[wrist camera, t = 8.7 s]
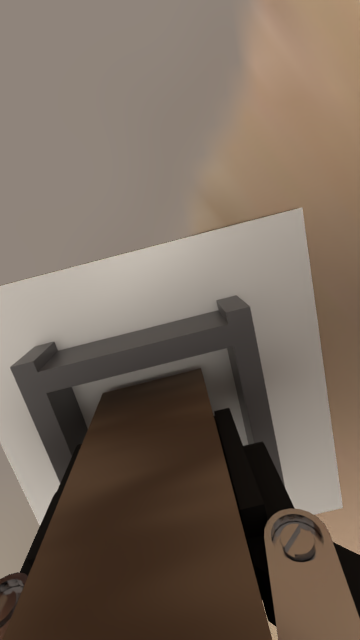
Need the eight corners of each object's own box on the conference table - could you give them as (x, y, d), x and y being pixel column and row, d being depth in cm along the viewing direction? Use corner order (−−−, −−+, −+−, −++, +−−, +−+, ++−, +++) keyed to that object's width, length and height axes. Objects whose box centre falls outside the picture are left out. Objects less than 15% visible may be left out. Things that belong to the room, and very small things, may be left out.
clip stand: (293, 209, 12) (330, 201, 9) (334, 494, 16) (369, 548, 13) (-52, 299, 12) (-114, 316, 10) (67, 557, 16) (47, 622, 13)
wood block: (200, 368, 12) (335, 884, 2) (222, 451, 13) (376, 1044, 4) (102, 393, 12) (-138, 983, 3) (131, 474, 13) (38, 1109, 4)
